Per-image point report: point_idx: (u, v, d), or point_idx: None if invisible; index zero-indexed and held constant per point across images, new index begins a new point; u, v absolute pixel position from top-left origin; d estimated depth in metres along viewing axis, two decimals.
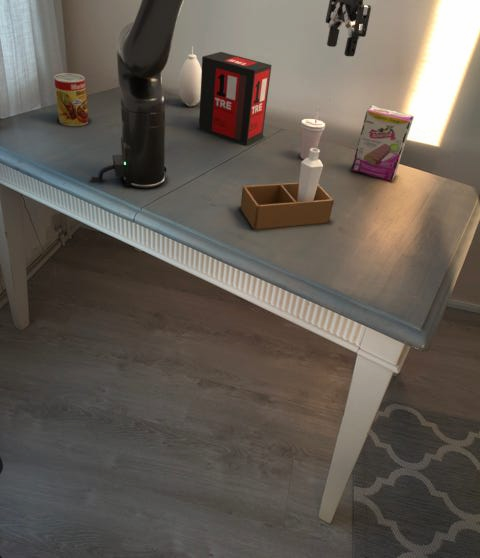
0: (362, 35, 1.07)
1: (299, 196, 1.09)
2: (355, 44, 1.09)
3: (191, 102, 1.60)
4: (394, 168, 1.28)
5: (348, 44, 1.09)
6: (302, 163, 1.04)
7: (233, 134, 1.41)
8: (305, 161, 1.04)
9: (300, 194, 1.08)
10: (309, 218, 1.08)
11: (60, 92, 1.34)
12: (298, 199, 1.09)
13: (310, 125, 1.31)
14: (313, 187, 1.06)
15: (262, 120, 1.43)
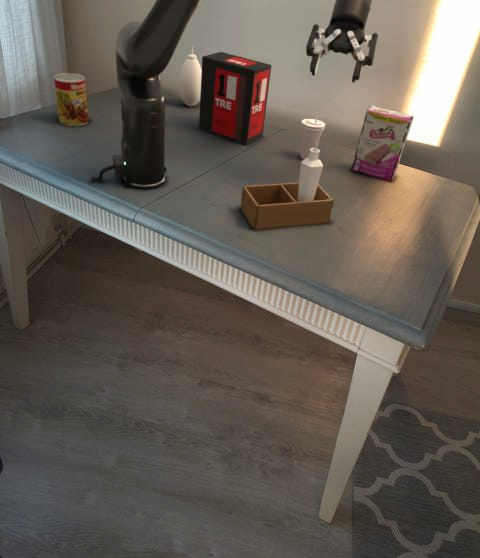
0: (371, 63, 1.05)
1: (299, 196, 1.09)
2: (361, 70, 1.05)
3: (191, 102, 1.60)
4: (394, 168, 1.28)
5: (358, 67, 1.04)
6: (302, 163, 1.04)
7: (233, 134, 1.41)
8: (305, 161, 1.04)
9: (300, 194, 1.08)
10: (309, 218, 1.08)
11: (60, 92, 1.34)
12: (298, 199, 1.09)
13: (310, 125, 1.31)
14: (313, 187, 1.06)
15: (262, 120, 1.43)
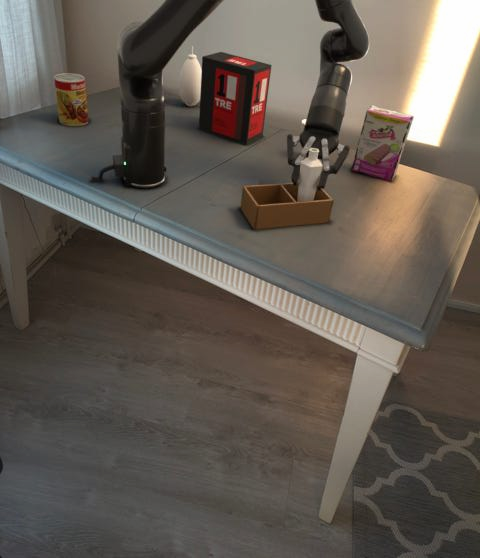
0: (336, 172, 1.06)
1: (299, 196, 1.09)
2: (326, 179, 1.06)
3: (191, 102, 1.60)
4: (394, 168, 1.28)
5: (323, 177, 1.05)
6: (301, 163, 1.04)
7: (233, 134, 1.41)
8: (304, 161, 1.04)
9: (300, 194, 1.08)
10: (309, 218, 1.08)
11: (60, 92, 1.34)
12: (298, 199, 1.09)
13: None
14: (312, 186, 1.06)
15: (262, 120, 1.43)
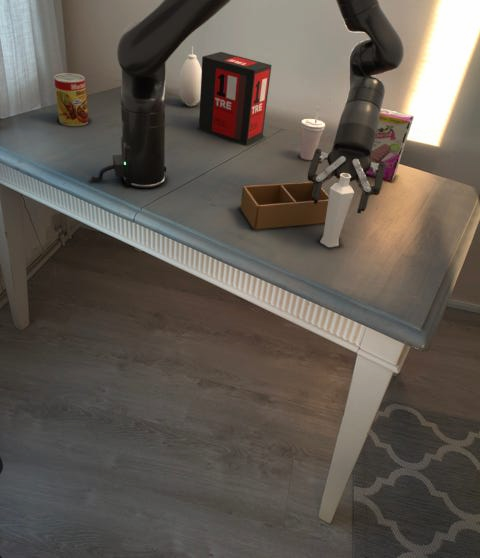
0: (378, 193, 0.97)
1: (327, 224, 1.00)
2: None
3: (191, 102, 1.60)
4: (394, 168, 1.28)
5: (363, 199, 0.96)
6: (331, 189, 0.96)
7: (233, 134, 1.41)
8: (334, 187, 0.96)
9: (328, 222, 1.00)
10: (309, 218, 1.08)
11: (60, 92, 1.34)
12: (325, 227, 1.01)
13: (310, 125, 1.31)
14: (342, 214, 0.98)
15: (262, 120, 1.43)
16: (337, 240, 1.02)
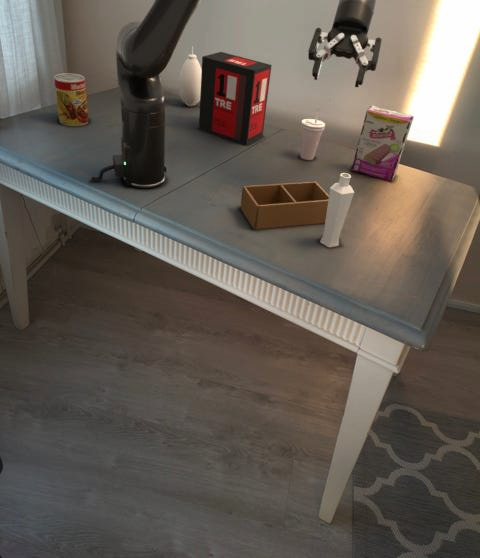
0: (375, 67, 1.03)
1: (327, 224, 1.00)
2: (364, 75, 1.03)
3: (191, 102, 1.60)
4: (394, 168, 1.28)
5: (361, 72, 1.02)
6: (331, 189, 0.96)
7: (233, 134, 1.41)
8: (334, 187, 0.96)
9: (328, 222, 1.00)
10: (309, 218, 1.08)
11: (60, 92, 1.34)
12: (325, 227, 1.01)
13: (310, 125, 1.31)
14: (342, 214, 0.98)
15: (262, 120, 1.43)
16: (337, 240, 1.02)
